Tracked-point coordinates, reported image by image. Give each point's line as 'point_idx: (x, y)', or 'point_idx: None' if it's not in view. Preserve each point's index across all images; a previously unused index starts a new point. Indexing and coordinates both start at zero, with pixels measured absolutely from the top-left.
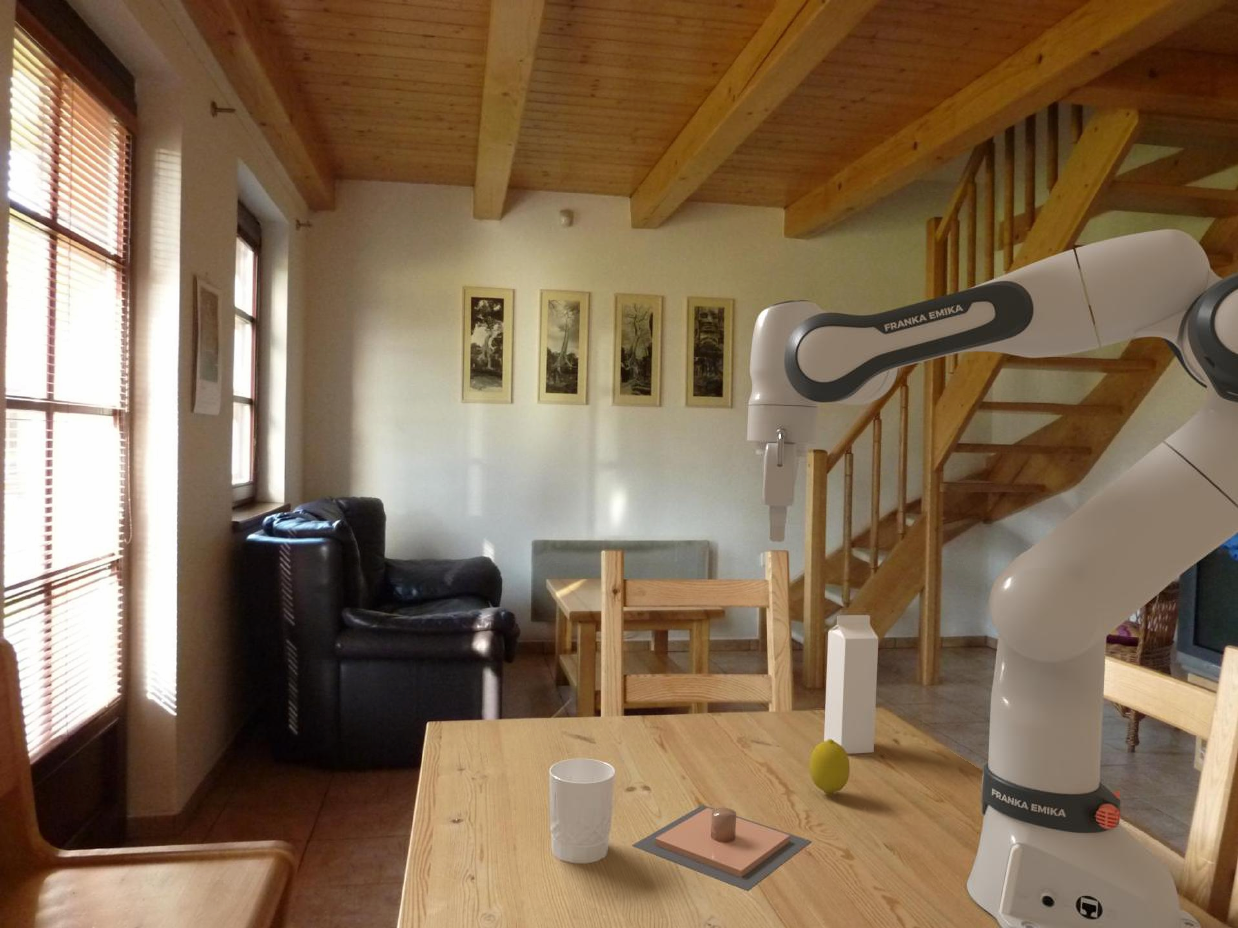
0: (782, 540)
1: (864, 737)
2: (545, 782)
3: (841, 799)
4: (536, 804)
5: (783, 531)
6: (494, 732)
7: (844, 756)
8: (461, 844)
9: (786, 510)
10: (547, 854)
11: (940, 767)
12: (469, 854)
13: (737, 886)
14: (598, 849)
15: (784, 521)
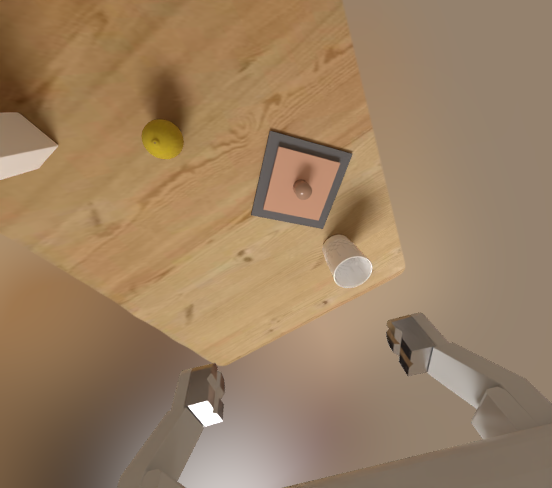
0: (420, 314)
1: (17, 123)
2: (264, 296)
3: None
4: (293, 286)
5: (440, 333)
6: (215, 345)
7: (161, 124)
8: (345, 289)
9: (540, 395)
10: None
11: None
12: None
13: (349, 160)
14: (346, 238)
15: (483, 359)
